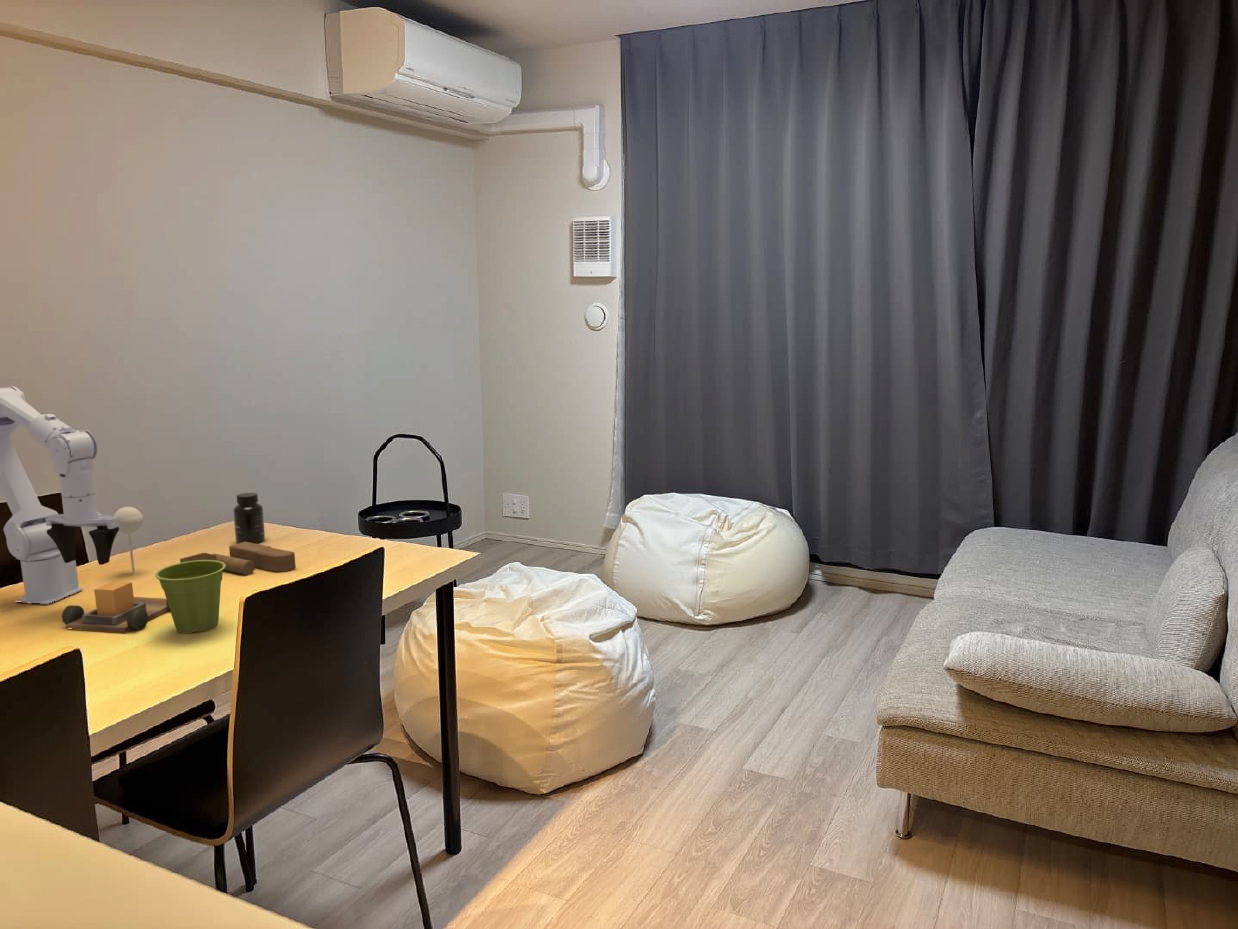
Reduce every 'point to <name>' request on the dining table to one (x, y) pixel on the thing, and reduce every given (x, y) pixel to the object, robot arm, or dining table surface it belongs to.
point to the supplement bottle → (248, 519)
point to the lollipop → (129, 524)
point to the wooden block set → (251, 558)
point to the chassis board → (119, 623)
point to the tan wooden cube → (114, 598)
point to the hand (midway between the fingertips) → (87, 562)
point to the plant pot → (193, 593)
